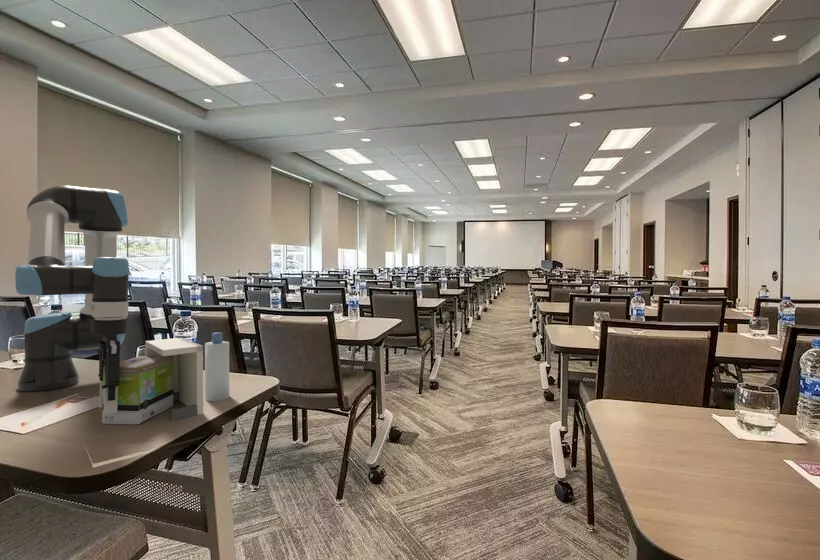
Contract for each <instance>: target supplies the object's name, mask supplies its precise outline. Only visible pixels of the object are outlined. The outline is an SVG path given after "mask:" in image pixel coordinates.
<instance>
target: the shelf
mask: <svg viewBox="0 0 820 560" xmlns="http://www.w3.org/2000/svg"><path fill="white" fill-rule="evenodd" d="M145 356H173V359H174V369H173V373H174V378H173V393H175V392H178V393H179V400H178V401H180V403H183V404H184V405H185V407H186V406H191V405H197V415H196V416H199V414H200V415H203V414H204V369H203V368H204V345H203V344H202V345H201V344H199V343H196V342H194V341H192V340H189V339H186V338H184V337H176V338H175V337H173V338H164V339H153V340H145ZM202 413H203V414H202Z"/></svg>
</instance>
